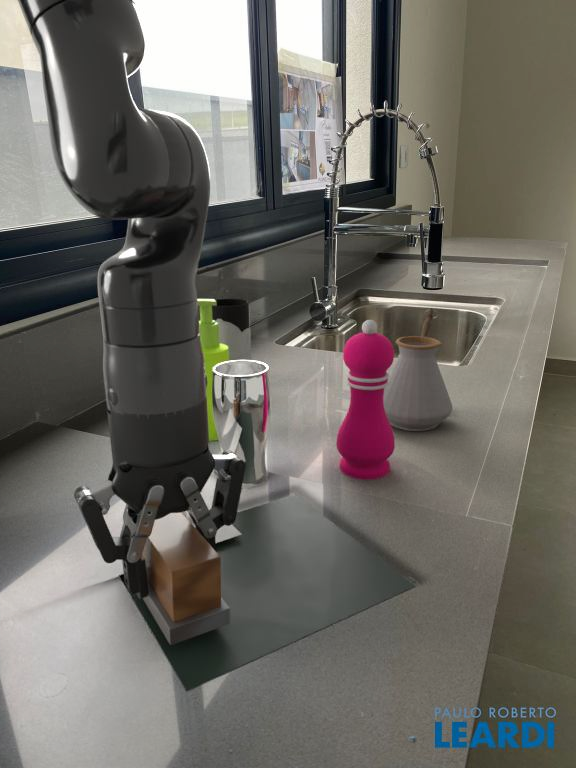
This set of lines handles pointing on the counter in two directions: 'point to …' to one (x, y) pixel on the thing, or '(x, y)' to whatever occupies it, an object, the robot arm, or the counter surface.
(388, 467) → the pepper mill
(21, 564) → the counter surface
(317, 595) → the chalkboard
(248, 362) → the beer glass
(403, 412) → the coffee pot
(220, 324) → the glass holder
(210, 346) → the soap dispenser
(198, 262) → the robot arm
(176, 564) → the eraser
